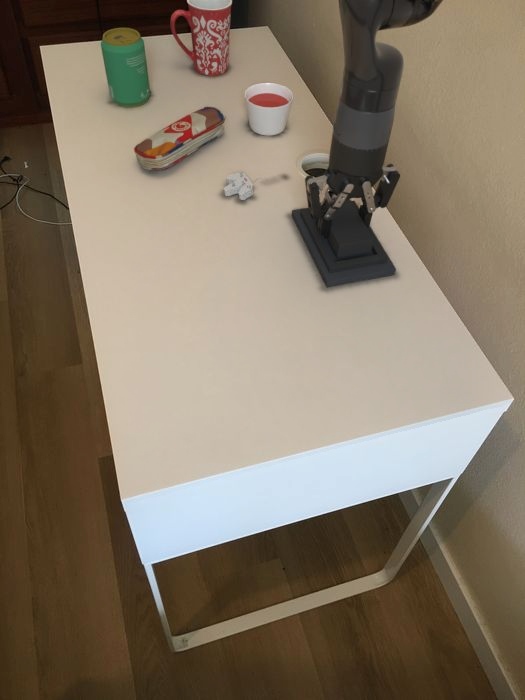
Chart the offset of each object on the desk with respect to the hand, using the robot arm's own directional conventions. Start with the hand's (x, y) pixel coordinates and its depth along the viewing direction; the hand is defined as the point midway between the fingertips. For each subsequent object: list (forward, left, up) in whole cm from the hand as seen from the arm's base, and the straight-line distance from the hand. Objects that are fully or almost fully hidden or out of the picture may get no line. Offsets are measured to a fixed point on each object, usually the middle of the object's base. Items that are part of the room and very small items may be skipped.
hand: (343, 231), depth 89 cm
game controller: (+17, -9, -3) cm, 20 cm away
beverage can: (+50, -28, -3) cm, 58 cm away
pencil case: (+33, -15, -3) cm, 37 cm away
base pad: (0, 0, -3) cm, 3 cm away
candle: (+21, -28, -3) cm, 35 cm away
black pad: (0, 0, -1) cm, 1 cm away
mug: (+41, -45, -3) cm, 61 cm away
